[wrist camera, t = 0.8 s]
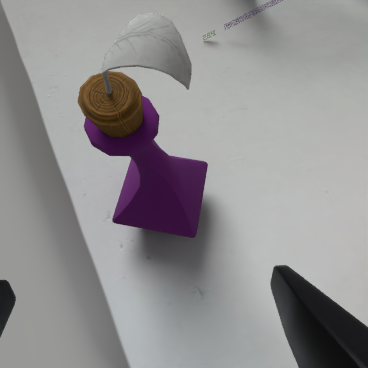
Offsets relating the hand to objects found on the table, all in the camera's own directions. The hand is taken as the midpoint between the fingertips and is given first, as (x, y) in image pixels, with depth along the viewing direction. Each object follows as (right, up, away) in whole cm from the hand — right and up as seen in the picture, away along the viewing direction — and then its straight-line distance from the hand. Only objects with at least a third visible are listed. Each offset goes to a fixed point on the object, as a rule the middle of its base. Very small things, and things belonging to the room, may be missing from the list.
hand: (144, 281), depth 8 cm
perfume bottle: (-1, +1, +17) cm, 17 cm away
